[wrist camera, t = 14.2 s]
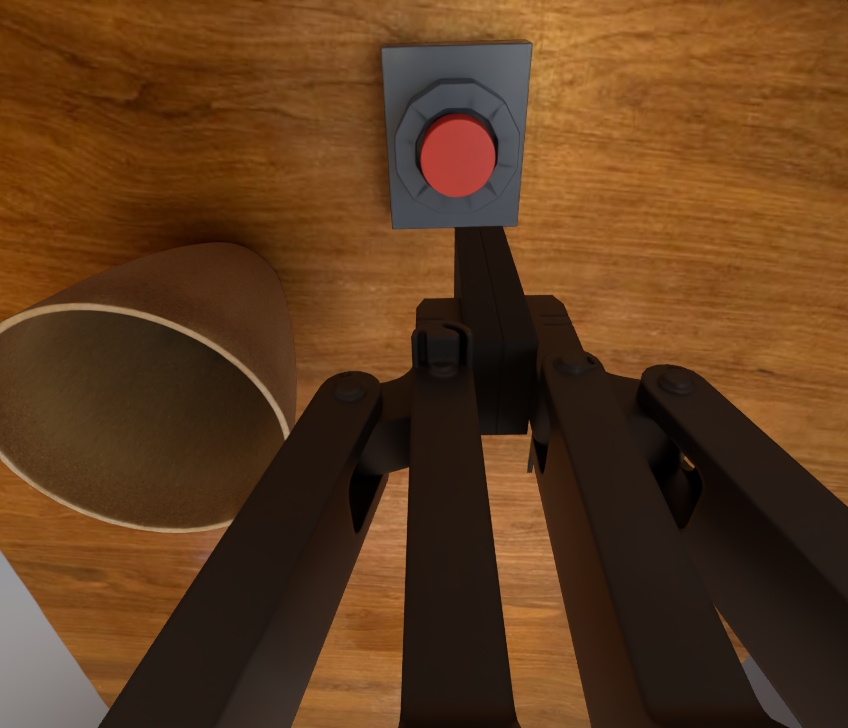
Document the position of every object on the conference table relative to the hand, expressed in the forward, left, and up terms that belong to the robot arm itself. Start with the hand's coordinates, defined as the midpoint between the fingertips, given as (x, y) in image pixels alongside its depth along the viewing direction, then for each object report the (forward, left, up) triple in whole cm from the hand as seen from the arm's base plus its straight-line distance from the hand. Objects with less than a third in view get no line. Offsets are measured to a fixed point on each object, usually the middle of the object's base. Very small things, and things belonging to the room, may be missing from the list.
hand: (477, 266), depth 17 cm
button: (0, 0, -15) cm, 15 cm away
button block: (0, 0, -18) cm, 18 cm away
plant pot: (+10, -16, -19) cm, 26 cm away
